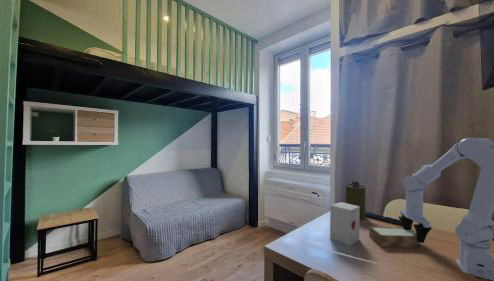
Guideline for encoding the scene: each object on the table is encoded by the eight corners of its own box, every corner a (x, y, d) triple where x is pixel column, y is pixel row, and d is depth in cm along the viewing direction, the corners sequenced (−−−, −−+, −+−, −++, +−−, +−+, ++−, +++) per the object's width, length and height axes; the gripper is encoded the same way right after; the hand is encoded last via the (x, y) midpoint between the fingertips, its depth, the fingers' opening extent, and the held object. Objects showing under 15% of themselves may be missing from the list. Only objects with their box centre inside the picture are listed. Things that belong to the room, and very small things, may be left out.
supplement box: (350, 247, 87) (350, 210, 87) (329, 239, 94) (329, 205, 94) (360, 241, 93) (360, 206, 93) (339, 234, 100) (340, 201, 100)
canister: (368, 220, 118) (368, 183, 118) (347, 218, 120) (347, 182, 120) (361, 213, 128) (362, 179, 128) (343, 212, 130) (343, 179, 130)
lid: (381, 244, 88) (381, 234, 88) (372, 237, 95) (372, 227, 95) (422, 246, 87) (422, 235, 87) (410, 238, 94) (410, 228, 94)
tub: (380, 248, 87) (380, 235, 87) (369, 238, 96) (369, 226, 96) (416, 249, 86) (416, 236, 87) (401, 238, 95) (401, 227, 96)
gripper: (438, 211, 83) (438, 246, 84) (411, 200, 98) (411, 231, 98) (419, 211, 84) (419, 246, 84) (395, 200, 98) (395, 230, 98)
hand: (413, 238), depth 91 cm, fingers open, 7 cm apart
